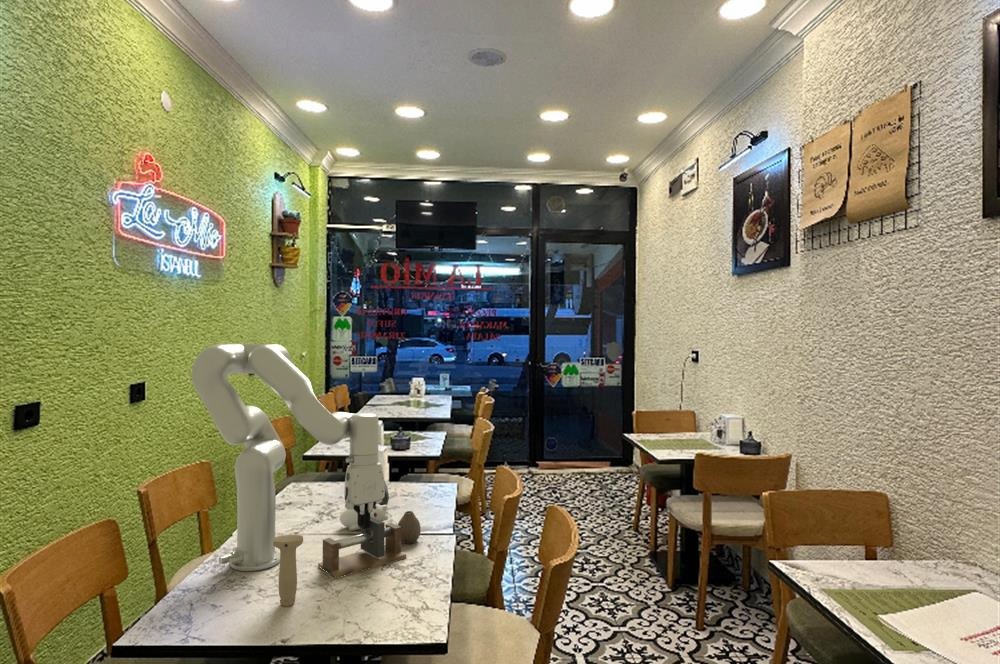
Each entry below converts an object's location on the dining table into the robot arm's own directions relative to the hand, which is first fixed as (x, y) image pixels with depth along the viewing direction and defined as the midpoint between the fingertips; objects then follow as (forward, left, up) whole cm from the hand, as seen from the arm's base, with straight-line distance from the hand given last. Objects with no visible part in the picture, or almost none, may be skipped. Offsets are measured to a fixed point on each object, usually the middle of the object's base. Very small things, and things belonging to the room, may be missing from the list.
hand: (363, 527), depth 163 cm
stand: (0, 0, -9) cm, 9 cm away
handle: (-27, -6, -10) cm, 29 cm away
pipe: (0, 0, -4) cm, 4 cm away
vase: (+19, +2, -10) cm, 21 cm away
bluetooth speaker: (+37, +38, -10) cm, 54 cm away
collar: (+3, 0, -7) cm, 8 cm away
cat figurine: (+19, +22, -10) cm, 31 cm away
